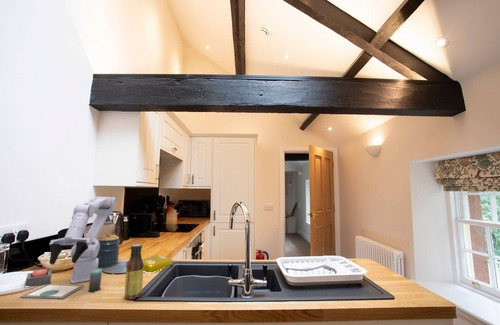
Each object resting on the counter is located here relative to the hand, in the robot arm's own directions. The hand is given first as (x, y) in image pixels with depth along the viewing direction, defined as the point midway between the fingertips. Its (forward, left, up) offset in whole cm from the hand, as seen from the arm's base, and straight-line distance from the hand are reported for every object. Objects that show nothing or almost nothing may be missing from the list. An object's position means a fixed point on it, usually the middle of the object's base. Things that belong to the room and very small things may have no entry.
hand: (62, 263), depth 89 cm
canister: (-21, -36, -13) cm, 44 cm away
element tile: (-41, -17, -14) cm, 46 cm away
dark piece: (-12, -1, -13) cm, 17 cm away
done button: (+6, -23, -11) cm, 26 cm away
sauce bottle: (-23, +15, -13) cm, 30 cm away
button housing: (+6, -23, -13) cm, 27 cm away
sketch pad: (+1, -8, -13) cm, 15 cm away
